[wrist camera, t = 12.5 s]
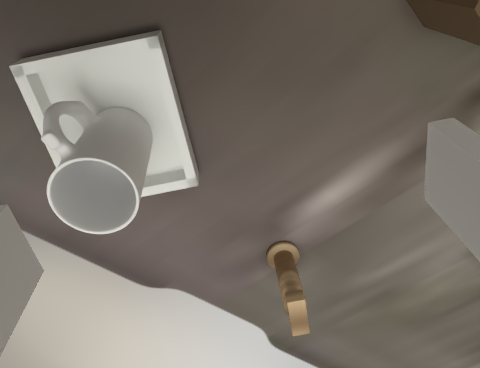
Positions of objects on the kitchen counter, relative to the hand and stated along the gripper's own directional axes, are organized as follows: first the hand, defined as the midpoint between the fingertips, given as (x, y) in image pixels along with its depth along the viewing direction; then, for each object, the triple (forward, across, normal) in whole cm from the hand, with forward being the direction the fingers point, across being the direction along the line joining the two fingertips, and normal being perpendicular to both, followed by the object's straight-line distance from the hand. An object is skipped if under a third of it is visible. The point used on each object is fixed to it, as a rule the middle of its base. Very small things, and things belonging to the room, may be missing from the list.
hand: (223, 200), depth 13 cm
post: (+29, +3, -27) cm, 39 cm away
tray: (+29, -11, -6) cm, 31 cm away
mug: (+28, -12, -6) cm, 31 cm away
